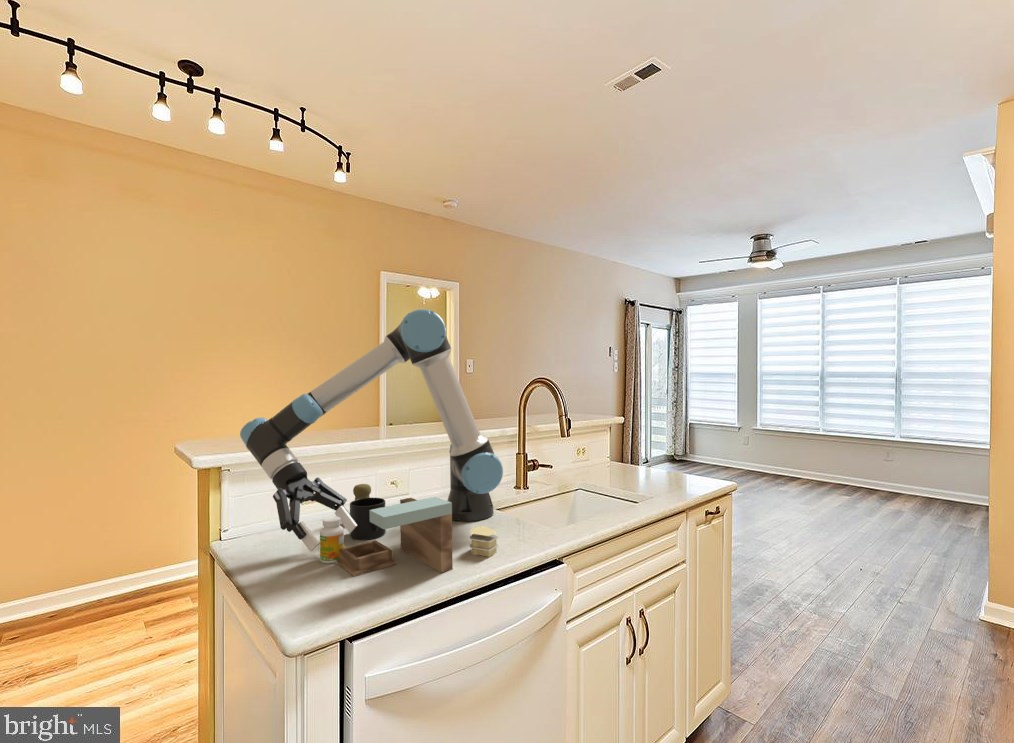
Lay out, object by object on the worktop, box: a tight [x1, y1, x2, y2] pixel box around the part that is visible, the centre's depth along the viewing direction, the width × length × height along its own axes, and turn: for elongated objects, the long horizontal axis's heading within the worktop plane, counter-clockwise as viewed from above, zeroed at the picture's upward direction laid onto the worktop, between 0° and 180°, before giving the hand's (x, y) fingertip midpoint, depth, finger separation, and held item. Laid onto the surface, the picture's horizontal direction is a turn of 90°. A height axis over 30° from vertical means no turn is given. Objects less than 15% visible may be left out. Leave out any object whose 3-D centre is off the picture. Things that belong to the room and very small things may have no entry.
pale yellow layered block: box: [469, 525, 499, 558], centre depth 120 cm, size 10×9×6 cm
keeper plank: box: [370, 496, 452, 530], centre depth 107 cm, size 16×7×2 cm, turn 130°
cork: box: [352, 483, 372, 500], centre depth 147 cm, size 6×6×11 cm
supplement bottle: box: [319, 516, 345, 564], centre depth 117 cm, size 5×5×10 cm
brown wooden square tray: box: [336, 539, 397, 577], centre depth 114 cm, size 10×10×3 cm
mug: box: [349, 497, 387, 541], centre depth 133 cm, size 9×12×9 cm
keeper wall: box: [399, 497, 454, 573], centre depth 116 cm, size 3×19×12 cm, turn 40°
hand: (335, 538), depth 116 cm, fingers open, 13 cm apart
